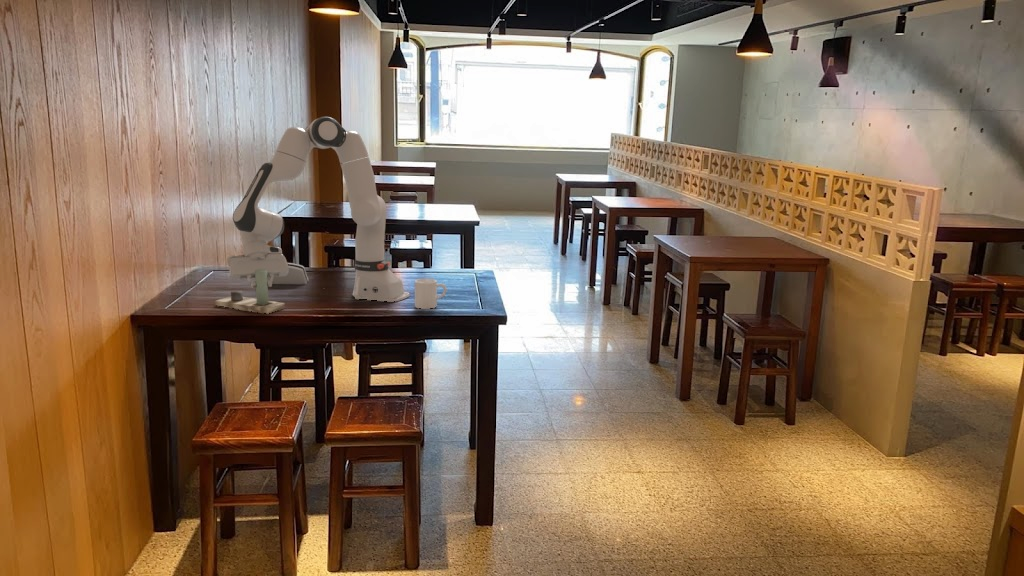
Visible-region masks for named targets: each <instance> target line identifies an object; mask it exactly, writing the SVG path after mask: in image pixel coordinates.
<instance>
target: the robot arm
mask: <svg viewBox="0 0 1024 576" xmlns="http://www.w3.org/2000/svg"><path fill="white" fill-rule="evenodd" d="M330 148H331V149H332V150H334V151H335V153H336V155H337V157H338V161H339V163H340V168H341V171H342V174H343V178H344V180H345V184H346V185H345V186H346V190H347V196H348V197H347V198H348V202H349V203H348V204H349V208H350V216H351V218H352V220H353V221H354V223H356V224H357V225H356V233H355V237H354V238H355V239H354V241H355V242H354V245H355V259H354V271H355V278H354V286H353V291H352V296H353V297H354V299H355V300H359V299H367V300H366V301H371V300H377V301H376V302H384V301H387V302H388V303H393V302H394V301H395V302H400V301H402V300H404V299H407V298H409V297H410V296H411V295H410V292H408V291H405V289H404V283H403V281H402V279H400V277H398V276H397V275H396V274H395V273H393V272H392V270H390V269H389V266H391V261H387V260H386V258H385V233H386V220H387V218H386V217H387V204H386V202H385V200H384V198H382V197H381V196H379V195H378V192H377V186H376V185H377V184H376V179H375V178H376V177H375V174H374V169H373V167H372V163H371V159H370V157H369V154H368V153H369V152H368V150H367V147H366V145H365V142H364V141H363V138H362V137H361V135H360V133H359V132H357V131H355V130H346V129H345V128H344V127H343V126H342V125H341V124H340V123H339V122H338V121H337V120H336V119H335V118H332V117H330V116H320V117H318V118H316V119H314V120H313V121H312V122H311V123H310V124H309V125H308V126H306V127H305V128H302V127H298V126H290V127H288V128H286V130H285V132H284V133H283V135H282V137H281V138H280V140H279V142H278V146H277V147H276V150H275V153H274V155H273V156H272V158H271V159H270V161H267V162H265V163H263V164H262V165H261V166H260V168H259V169H258V171H257V172H256V174H255V176H254V178H253V179H252V181H251V184H250V185H249V187H248V188H247V191H246V192H245V195H244V196H243V198H242V200H241V201H240V202H239V203H238V205H237V206H236V208H235V209H234V211H233V214H232V222H233V224H234V226H235V227H236V229H237V230H238V231H240V233H239V234H240V240H241V242H242V253H243V254H242V255H241V254H240V255H231V256H229V257H228V258H227V259H226V264H227V266H228V267H229V278H231V280H246V282H248V283H249V284H250V286H251V288H252V289H254V288H255V289H256V281H255V280H253V279H255V270H261V269H262V270H267V277H269V279H270V280H267V284H268V288H269V287H270V288H271V287H272V286H273V284H272V280H273V278H274V277H279V276H287V274H288V272H289V268H288V264H287V263H288V261H287V259H286V257H285V255H284V254H283V250H282V248H281V247H276V246H272V245H270V244H269V245H268V243H271V242H272V241H274V240H275V239H277V238H278V237H280V236H281V235H282V234H283V233H284V230H285V221H284V218H283V216H282V215H281V214H280V213H277V212H275V211H272V210H269V209H265V208H262V207H259V206H258V204H259V203H260V201H261V199H262V197H263V195H264V194H265V191H266V189H267V188H268V186H269V185H270V184H272V183H274V182H275V183H276V182H288V181H293V180H295V179H297V178H298V177H300V176H301V175H302V174H303V171H304V169H305V166H306V163H307V159H308V156H309V155H310V152H311V150H312V149H315V150H326V149H330ZM387 302H386V303H387Z"/></svg>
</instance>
